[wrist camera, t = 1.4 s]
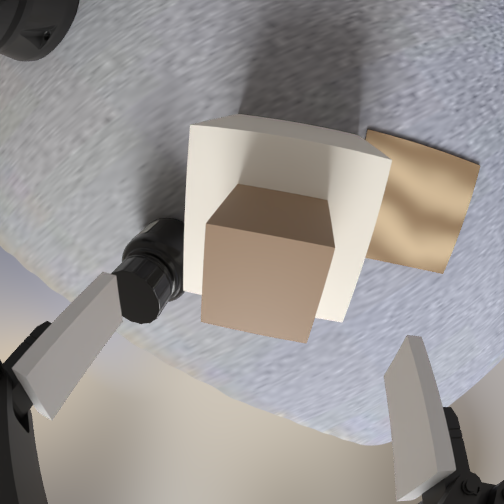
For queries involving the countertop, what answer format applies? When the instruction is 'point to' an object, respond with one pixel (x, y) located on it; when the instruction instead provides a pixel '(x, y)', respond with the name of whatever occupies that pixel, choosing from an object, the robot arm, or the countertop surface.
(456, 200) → the plate
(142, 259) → the ink bottle
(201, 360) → the countertop surface
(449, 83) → the countertop surface
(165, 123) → the countertop surface
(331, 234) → the cover
